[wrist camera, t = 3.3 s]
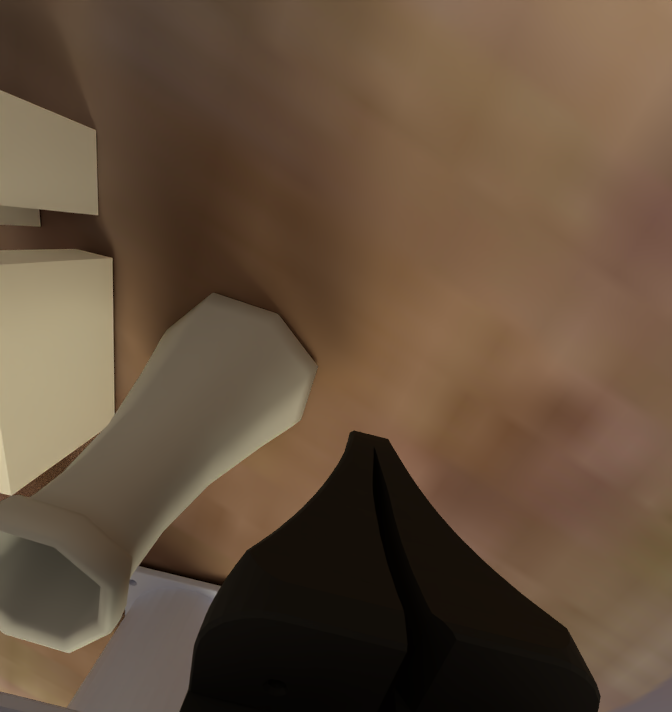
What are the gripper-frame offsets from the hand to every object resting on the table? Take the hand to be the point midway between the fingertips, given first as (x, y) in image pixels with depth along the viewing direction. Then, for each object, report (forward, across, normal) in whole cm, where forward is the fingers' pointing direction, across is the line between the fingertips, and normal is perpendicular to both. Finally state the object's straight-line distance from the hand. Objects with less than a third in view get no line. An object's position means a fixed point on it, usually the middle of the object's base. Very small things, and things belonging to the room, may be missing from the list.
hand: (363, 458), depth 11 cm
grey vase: (+4, +6, 0) cm, 7 cm away
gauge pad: (+4, +13, -2) cm, 13 cm away
